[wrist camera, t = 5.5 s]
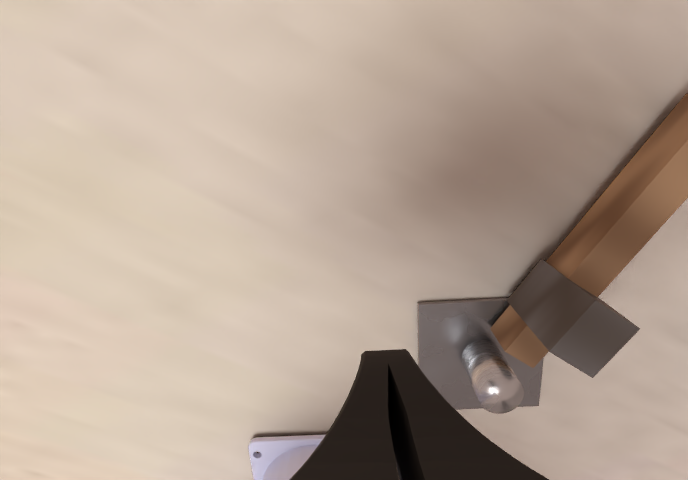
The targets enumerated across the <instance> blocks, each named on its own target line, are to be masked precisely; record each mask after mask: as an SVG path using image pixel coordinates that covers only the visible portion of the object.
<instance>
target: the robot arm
mask: <svg viewBox="0 0 688 480" xmlns="http://www.w3.org/2000/svg"><path fill="white" fill-rule="evenodd" d="M248 449H249V455H250V461H251V467H252V473H253V478H254V480H549V479H547V478H545V477H544V476H542V475H540V474H539V473H537V472H535V471H534V470H532V469H530V468H529V467H527V466H526V465H524V464H523V463H521V462H520V461H518V460H517V459H515V458H513V457H512V456H511V455H509V454H508V453H507V452H505V451H504V450H502V449H501V448H500V447H498V446H497V445H495V444H494V443H493V442H491V441H490V440H489V439H487V438H486V437H485V436H484V435H482V434H481V433H480V432H479V431H478V430H477V429H475V428H474V427H473V426H472V425H471V424H470V423H469V422H468V421H466V420H465V419H464V418H463V417H462V416H461V415H460V414H459V413H458V412H457V411H456V410H455V409H454V408H453V407H452V406H451V405H450V404H449V403H448V402H447V401H446V399H445V398H444V397H443V396H442V395H441V394H440V393H439V392H438V390H437V389H436V388H435V387H434V386H433V384H432V383H431V382H430V381H429V380H428V378H427V377H426V376H425V375H424V373H423V372H422V371H421V369H420V368H419V367H418V365H417V364H416V362H415V361H414V359H413V358H412V356H411V355H410V353H409V352H408V351H407V350H406V349H402V350H381V351H365V352H364V353H363V354H362V355H361V362H360V366H359V370H358V373H357V375H356V378H355V381H354V383H353V386H352V388H351V390H350V393H349V395H348V397H347V399H346V401H345V403H344V405H343V407H342V409H341V411H340V413H339V414H338V416H337V418H336V420H335V421H334V423H333V425H332V426H331V428H330V429H329V431H328V432H327V434H326V435H304V436H280V437H256V438H253V439H251V441H250V443H249V446H248ZM257 452H260V453H257ZM397 471H398V472H397ZM398 476H399V477H398Z"/></svg>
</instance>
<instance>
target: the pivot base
mask: <svg viewBox="0 0 688 480" xmlns="http://www.w3.org/2000/svg"><path fill="white" fill-rule="evenodd" d="M507 300H508V298H489V299H470V300H451V301H431V302H418V367H419V368H420V369H421V371H422V372H423V373H424V375H425V376H426V377H427V378H428V380H429V381H430V382H431V383H432V384H433V386H434V387H435V388H436V389H437V390H438V392H439V393H440V394H441V395H442V396H443V397H444V398H445V399H446V401H447V402H448V403H449V404H450V405H451V406H452V407H453V408H454V409H476V408H484V409H486V410H487V411H489V412H492V413H506V412H509V411H512V410H513V409H515V408H516V407H523V406H539V397H540V387H541V376H542V366H543V358H542V359H541V360H540V361H539V363H538V364H537V365H536V366H535V367H534V368H532V367H530V366H528V365H527V364H525V363H523V362H522V361H520V360H518V359H517V358H515V357H513V356H512V355H510V354H508V353H507V352H505V351H504V349H503V348H502V346H501V345H500V343H499V342H498V340H497V339H496V337H495V336H494V334H493V332H492V331H491V329H490V328H491V327H492V326H493V325H494V323H495V322H496V321H497V320H498V319H499V317H500V316H501V315H502V314H503V313H504V311H505V310H506V309H507V308H508V307H509V305H510V304H509V303H508V302H507Z"/></svg>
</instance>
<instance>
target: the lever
mask: <svg viewBox="0 0 688 480" xmlns="http://www.w3.org/2000/svg"><path fill="white" fill-rule="evenodd" d="M687 198H688V93H686V94H685V96H684V97H683V98H682V99H681V100H680V102H679V103H678V104H677V105H676V106H675V108H674V109H673V110H672V111H671V112H670V114H669V115H668V116H667V117H666V118H665V120H664V121H663V122H662V123H661V124H660V126H659V127H658V128H657V129H656V130H655V132H654V133H653V134H652V135H651V136H650V138H649V139H648V140H647V141H646V142H645V144H644V145H643V146H642V147H641V148H640V150H639V151H638V152H637V153H636V154H635V156H634V157H633V158H632V159H631V160H630V162H629V163H628V164H627V165H626V166H625V168H624V169H623V170H622V171H621V172H620V173H619V175H618V176H617V177H616V178H615V179H614V181H613V182H612V183H611V184H610V185H609V187H608V188H607V189H606V190H605V191H604V193H603V194H602V195H601V196H600V197H599V199H598V200H597V201H596V202H595V203H594V205H593V206H592V207H591V208H590V209H589V211H588V212H587V213H586V214H585V215H584V217H583V218H582V219H581V220H580V221H579V223H578V224H577V225H576V226H575V227H574V229H573V230H572V231H571V232H570V233H569V235H568V236H567V237H566V238H565V239H564V241H563V242H562V243H561V244H560V245H559V247H558V248H557V249H556V250H555V251H554V253H553V254H552V255H551V256H550V257H549V259H548V260H547V261H544V260H542V259H541V260H540V261H539V262H538V263H537V265H536V266H535V267H534V268H533V269H532V271H531V272H530V273H529V274H528V276H527V277H526V278H525V279H524V280H523V282H522V283H521V284H520V285H519V286H518V288H517V289H516V290H515V291H514V292H513V294H512V295H511V296H510V297H509V298H508V300H507V302H508V303H509V304H510V305H509V307H508V308H507V309H506V310H505V311H504V313H503V314H502V315H501V316H500V317H499V319H498V320H497V321H496V322H495V323H494V325H493V326H492V327H491V328H490V329H491V331H492V332H493V334H494V336H495V337H496V339H497V340H498V342H499V343H500V345H501V346H502V348H503V349H504V351H505V352H507V353H508V354H510V355H512V356H513V357H515V358H517V359H518V360H520V361H522V362H523V363H525V364H527V365H528V366H530V367H532V368H534V367H535V366H536V365H537V364H538V363H539V361H540V360H541V359H542V358H543V357H544V356H545V355H546V354H547V353H548V352H551V353H552V354H554V355H556V356H557V357H559V358H561V359H562V360H564V361H566V362H567V363H569V364H571V365H572V366H574V367H575V368H577V369H579V370H580V371H582V372H584V373H585V374H587V375H589V376H590V377H592V378H593V377H594V376H595V375H596V374H597V373H598V372H599V371H600V370H601V369H602V368H603V367H604V366H605V365H606V364H607V363H608V362H609V361H610V360H611V358H612V357H613V356H614V355H615V354H616V353H617V352H618V351H619V350H620V349H621V348H622V347H623V346H624V345H625V344H626V343H627V342H628V341H629V340H630V339H631V338H632V337H633V336H634V335H635V334H636V333H637V332H638V330H639V329H640V328H638V327H637V326H636V325H634V324H633V323H632V322H630V321H629V320H628V319H626V318H625V317H624V316H622V315H621V314H619V313H618V312H617V311H615V310H614V309H613V308H611V307H610V306H609V305H607V304H606V303H605V302H603V301H602V300H601V299H599V298H598V296H599V295H600V294H601V293H602V292H603V291H604V290H605V288H606V287H607V286H608V285H609V284H610V283H611V282H612V281H613V280H614V278H615V277H616V276H617V275H618V274H619V273H620V272H621V271H622V270H623V268H624V267H625V266H626V265H627V264H628V263H629V262H630V261H631V260H632V259H633V257H634V256H635V255H636V254H637V253H638V252H639V251H640V250H641V249H642V247H643V246H644V245H645V244H646V243H647V242H648V241H649V240H650V239H651V237H652V236H653V235H654V234H655V233H656V232H657V231H658V230H659V229H660V227H661V226H662V225H663V224H664V223H665V222H666V221H667V220H668V219H669V218H670V216H671V215H672V214H673V213H674V212H675V211H676V210H677V209H678V208H679V206H680V205H681V204H682V203H683V202H684V201H685V200H686V199H687Z"/></svg>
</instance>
